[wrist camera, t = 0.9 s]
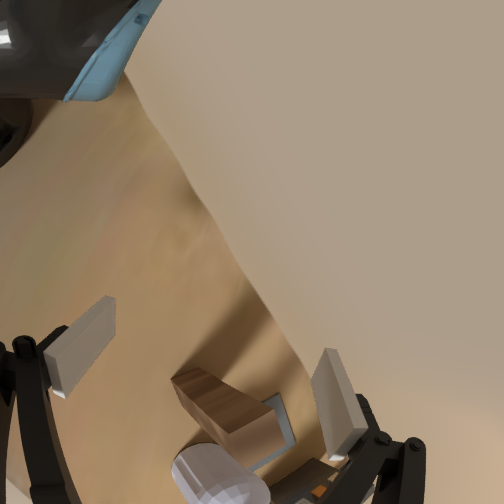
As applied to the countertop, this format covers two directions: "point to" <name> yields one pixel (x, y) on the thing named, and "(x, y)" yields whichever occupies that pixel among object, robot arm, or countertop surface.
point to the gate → (230, 417)
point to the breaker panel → (306, 484)
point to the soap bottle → (216, 477)
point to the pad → (282, 418)
